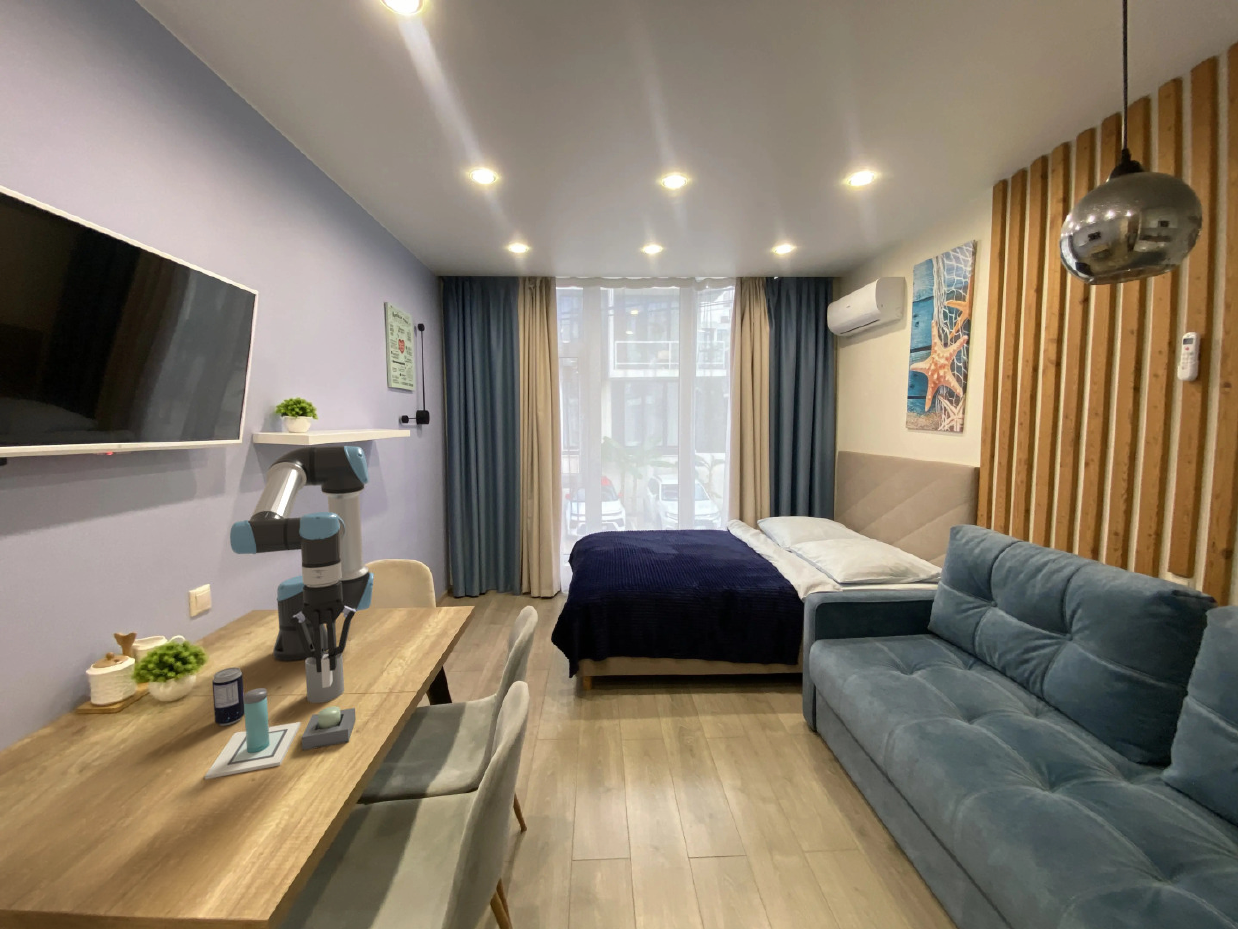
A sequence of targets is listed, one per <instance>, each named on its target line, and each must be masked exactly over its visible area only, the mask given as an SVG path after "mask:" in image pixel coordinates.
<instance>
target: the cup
mask: <svg viewBox="0 0 1238 929" xmlns="http://www.w3.org/2000/svg"><path fill="white" fill-rule="evenodd" d="M325 654H328V650H325V652H324V653H323V655H325ZM343 656H344V655H343V653H341V654H337V666H336V669H335V670H333V671H332V678H333V681H332V684H331V686H330V687H325V688H323V687H322V672H319V673H318V672H317V671H316V659H315V658H312V657H310V658H305V661H304V663H305V664H304V666H305V682H306V686H305V687H306V699H307V701H308V702H309V703H311V704H322V703H326V702H330V701H333V700H335V699H338V698H339V697H340V696H341V695H343V693H344V691H345V682H344V680H345V678H344V660H343Z"/></svg>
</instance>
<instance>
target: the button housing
mask: <svg viewBox="0 0 1238 929" xmlns="http://www.w3.org/2000/svg"><path fill="white" fill-rule="evenodd" d="M340 716H341V724H340V725H339V726H336V727H330V728H324V729H319V725H318V713H316V714H311V716H310V719H309V721H308V723H307V724H306V727H305V729H304V732H303V733H302V736H301V750H302V751H306V750H307V751H308V750H312V749H318V748H322V747H328V746H334V745H340V744H344V743H345V744H346V743H349V742H350V738H351V735H352V732H353V729H354V727H355V722H356V707H352V708H345V709H340Z"/></svg>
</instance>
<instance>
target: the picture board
mask: <svg viewBox="0 0 1238 929" xmlns="http://www.w3.org/2000/svg"><path fill="white" fill-rule="evenodd" d="M301 724H302V723H301V721H298V722H290V723H284V724H279V725H272V726H269V742H270V744H269V746H268V747H267V748H266V749H264V750H262V751H260V752H256V753H248V752H247V743H246V730H245V731H238V732H234V733H233V735H232V736H231V738H230V739H229V740H228V742H227V743H226V745H225V747H224V748H223V749H222V751H221V752H220V753H219V755H218V756H217V758H216V759H215V761H214V762H213V763H212V765H211V766H210V767H209V769H208V770H207V772H206V773H205V775H204V779H205V780H210V779H215V778H218V777H224V776H229V775H235V774H241V773H245V772H247V773H248V772H251V771H257V770H262V769H267V768H273V767H277V766H281V765H282V762H283V761H284V759H285V758H286V755H287V753H288V751H289V749H290V747H291V744H292V743H293V741H294V739H295V737H296V735H297V733H298V731H299V729H300V727H301Z"/></svg>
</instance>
